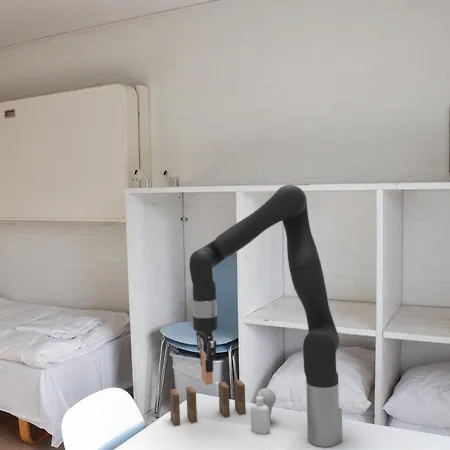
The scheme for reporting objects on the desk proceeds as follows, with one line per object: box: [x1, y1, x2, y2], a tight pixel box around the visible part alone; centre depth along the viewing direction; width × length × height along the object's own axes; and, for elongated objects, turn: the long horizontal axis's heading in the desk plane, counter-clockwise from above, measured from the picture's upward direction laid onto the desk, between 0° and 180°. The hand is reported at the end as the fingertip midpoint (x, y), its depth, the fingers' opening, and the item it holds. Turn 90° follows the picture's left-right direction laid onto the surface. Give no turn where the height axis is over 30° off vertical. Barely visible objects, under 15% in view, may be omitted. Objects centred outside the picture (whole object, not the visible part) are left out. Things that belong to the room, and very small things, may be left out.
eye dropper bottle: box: [250, 392, 271, 435], centre depth 163 cm, size 4×6×12 cm
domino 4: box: [218, 381, 231, 419], centre depth 176 cm, size 2×5×10 cm, turn 18°
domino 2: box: [185, 385, 198, 424], centre depth 173 cm, size 2×5×10 cm, turn 18°
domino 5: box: [233, 379, 246, 416], centre depth 178 cm, size 2×5×10 cm, turn 18°
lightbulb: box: [255, 387, 277, 421], centre depth 169 cm, size 6×6×11 cm
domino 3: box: [200, 348, 214, 385], centre depth 163 cm, size 2×5×10 cm, turn 19°
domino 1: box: [169, 388, 181, 427], centre depth 171 cm, size 2×5×10 cm, turn 18°
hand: (206, 368), depth 163 cm, fingers closed on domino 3, 5 cm apart
